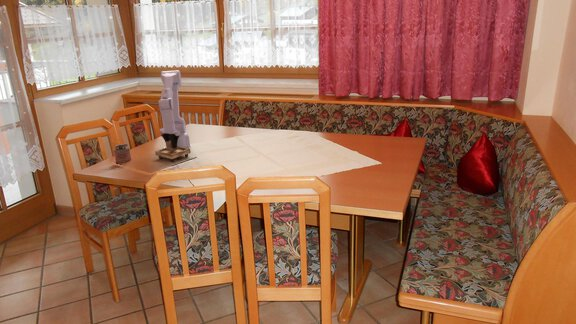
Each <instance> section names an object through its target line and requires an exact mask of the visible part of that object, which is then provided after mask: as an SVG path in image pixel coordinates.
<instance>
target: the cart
mask: <svg viewBox="0 0 576 324" xmlns="http://www.w3.org/2000/svg"><path fill="white" fill-rule="evenodd" d="M177 148H178V150H176V151H172V152H170V151H167V149H166V147H164V148H161V149H157V150H155V151H154V154H155V156H158V159H163V158H167V159H169V160H170V162H174V161H175V159H177V158H180V157H182V156H184V157H185V158H187V157H189V154H191V152H192V151H191V148H190V147H187V148H184V147H179V146H177Z"/></svg>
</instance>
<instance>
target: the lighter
mask: <svg viewBox="0 0 576 324" xmlns="http://www.w3.org/2000/svg"><path fill="white" fill-rule="evenodd" d="M114 146H115V147H114V148H115V149H113V153H114V158H115V165H120V163H123V162H130V161H132V155H131V149H130V147H128V146H129V145H128V143H122V144H121V143H119V144H117V145H114Z"/></svg>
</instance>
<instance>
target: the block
mask: <svg viewBox="0 0 576 324" xmlns="http://www.w3.org/2000/svg"><path fill="white" fill-rule="evenodd" d="M164 143H165V148H166V149H167V151H170V152H172V151H176V150H178V148H173V147H172V143H171V140H169V141H165V140H164Z"/></svg>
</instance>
